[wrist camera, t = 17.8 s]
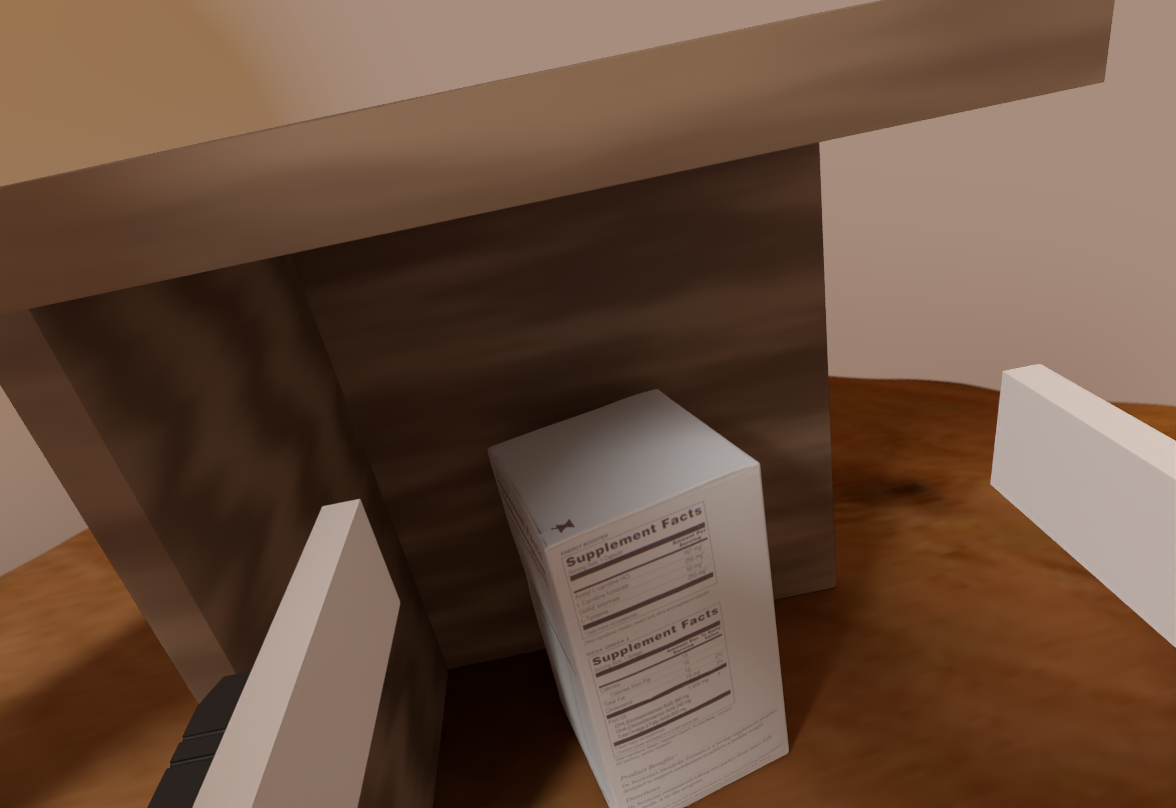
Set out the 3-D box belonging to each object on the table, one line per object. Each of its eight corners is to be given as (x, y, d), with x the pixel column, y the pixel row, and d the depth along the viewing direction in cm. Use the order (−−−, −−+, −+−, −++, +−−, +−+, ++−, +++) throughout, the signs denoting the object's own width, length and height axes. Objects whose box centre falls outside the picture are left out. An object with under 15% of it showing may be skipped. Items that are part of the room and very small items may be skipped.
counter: (1005, 856, 28) (1120, -49, 14) (376, 991, 28) (-108, 210, 14) (826, 571, 44) (801, 16, 31) (427, 656, 44) (222, 138, 31)
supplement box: (795, 756, 34) (771, 463, 26) (624, 847, 31) (545, 553, 24) (697, 630, 42) (658, 381, 35) (556, 695, 40) (481, 442, 32)
